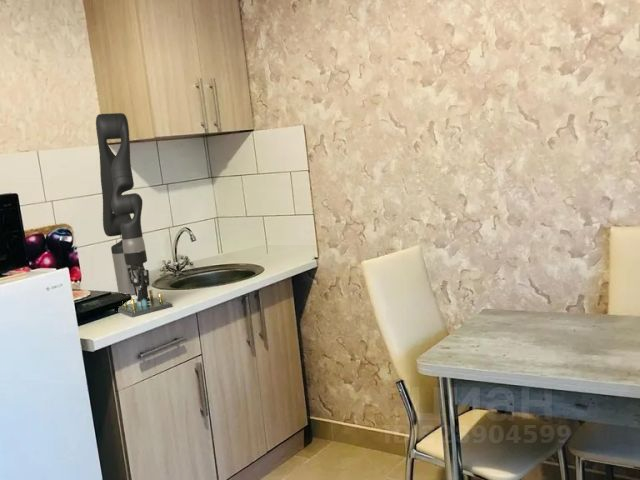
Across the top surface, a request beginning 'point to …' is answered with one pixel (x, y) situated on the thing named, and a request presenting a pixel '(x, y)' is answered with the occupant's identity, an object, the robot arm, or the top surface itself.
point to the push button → (140, 300)
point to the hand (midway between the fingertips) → (142, 296)
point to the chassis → (136, 310)
